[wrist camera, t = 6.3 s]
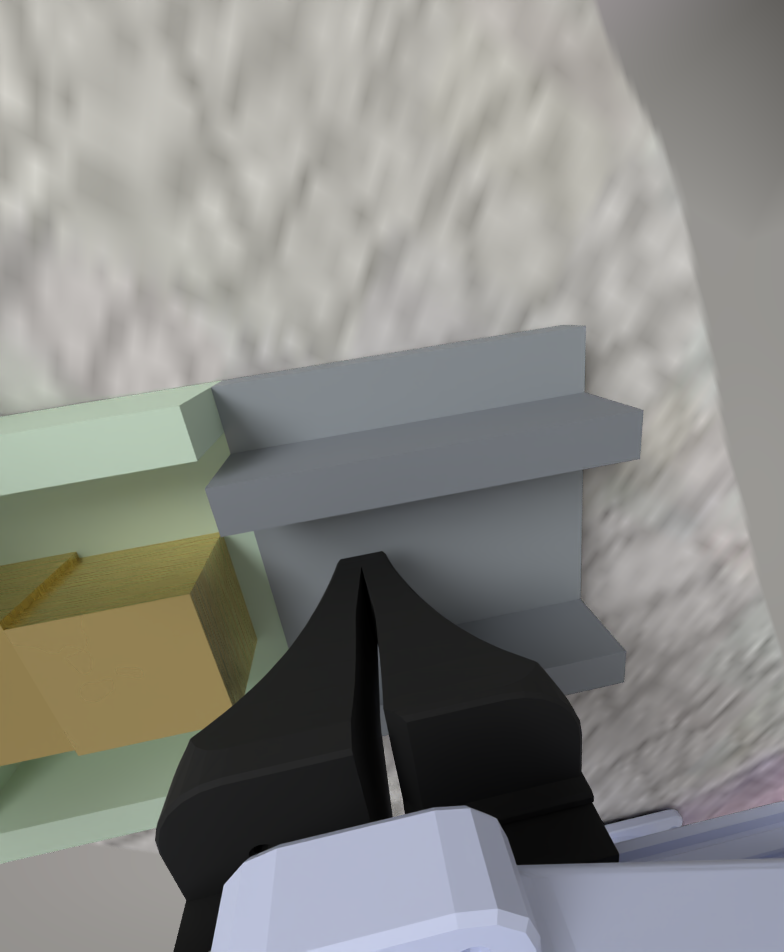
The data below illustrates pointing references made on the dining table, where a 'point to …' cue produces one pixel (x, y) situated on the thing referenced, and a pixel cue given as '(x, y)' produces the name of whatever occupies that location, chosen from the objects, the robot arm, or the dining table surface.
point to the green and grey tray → (323, 519)
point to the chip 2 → (139, 643)
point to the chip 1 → (6, 678)
